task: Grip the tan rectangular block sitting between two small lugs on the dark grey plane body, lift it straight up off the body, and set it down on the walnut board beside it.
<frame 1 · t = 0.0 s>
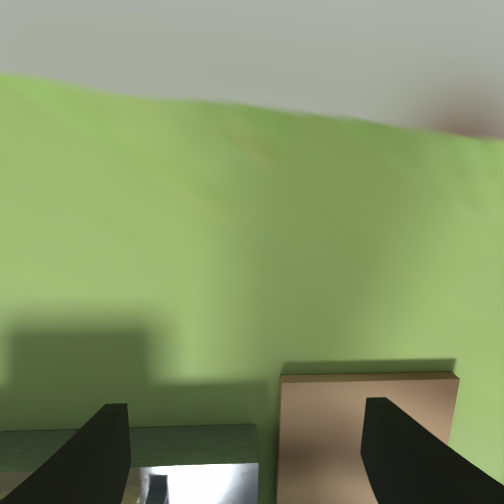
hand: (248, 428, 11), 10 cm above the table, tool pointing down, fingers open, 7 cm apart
plane body: (83, 475, 23), on the table
walnut board: (358, 452, 23), on the table
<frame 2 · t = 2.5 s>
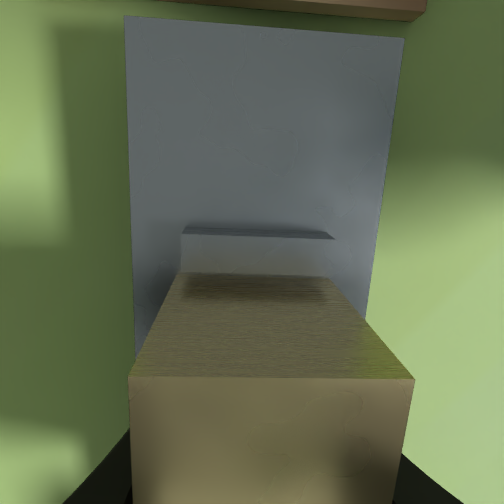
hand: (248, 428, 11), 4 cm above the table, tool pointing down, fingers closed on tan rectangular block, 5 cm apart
tan rectangular block: (247, 408, 11), point 3 cm above the table, touching gripper, plane body
plane body: (243, 358, 14), on the table
when the fingers open (3 cm above the table, at t = 7.3 s): tan rectangular block stays where it is, resting on walnut board.
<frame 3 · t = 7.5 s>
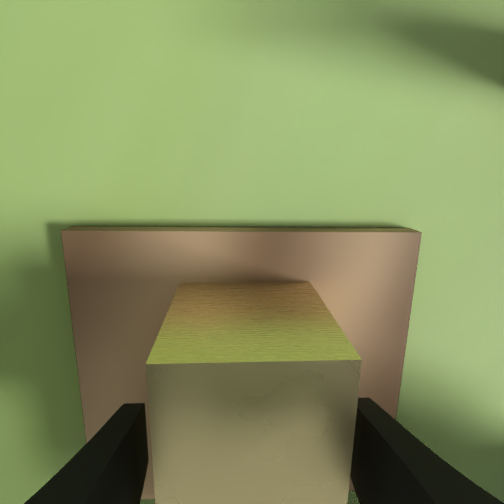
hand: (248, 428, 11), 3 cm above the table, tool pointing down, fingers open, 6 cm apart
tan rectangular block: (244, 395, 13), point 1 cm above the table, touching walnut board
walnut board: (244, 365, 14), on the table
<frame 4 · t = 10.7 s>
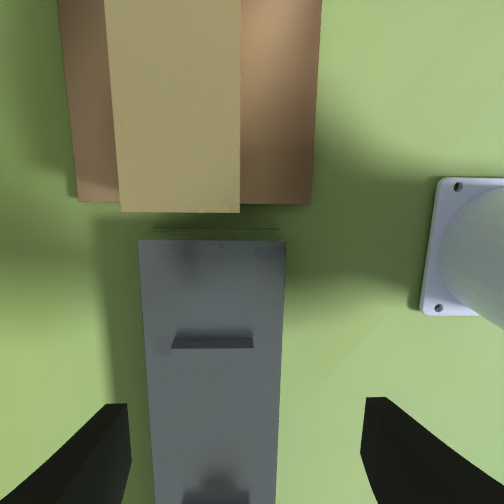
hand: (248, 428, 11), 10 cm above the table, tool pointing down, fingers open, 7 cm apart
tan rectangular block: (193, 105, 17), point 1 cm above the table, touching walnut board
plane body: (217, 399, 22), on the table
walnut board: (195, 91, 18), on the table
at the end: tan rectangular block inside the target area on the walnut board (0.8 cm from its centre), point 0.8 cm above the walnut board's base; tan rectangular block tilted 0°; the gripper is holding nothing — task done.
